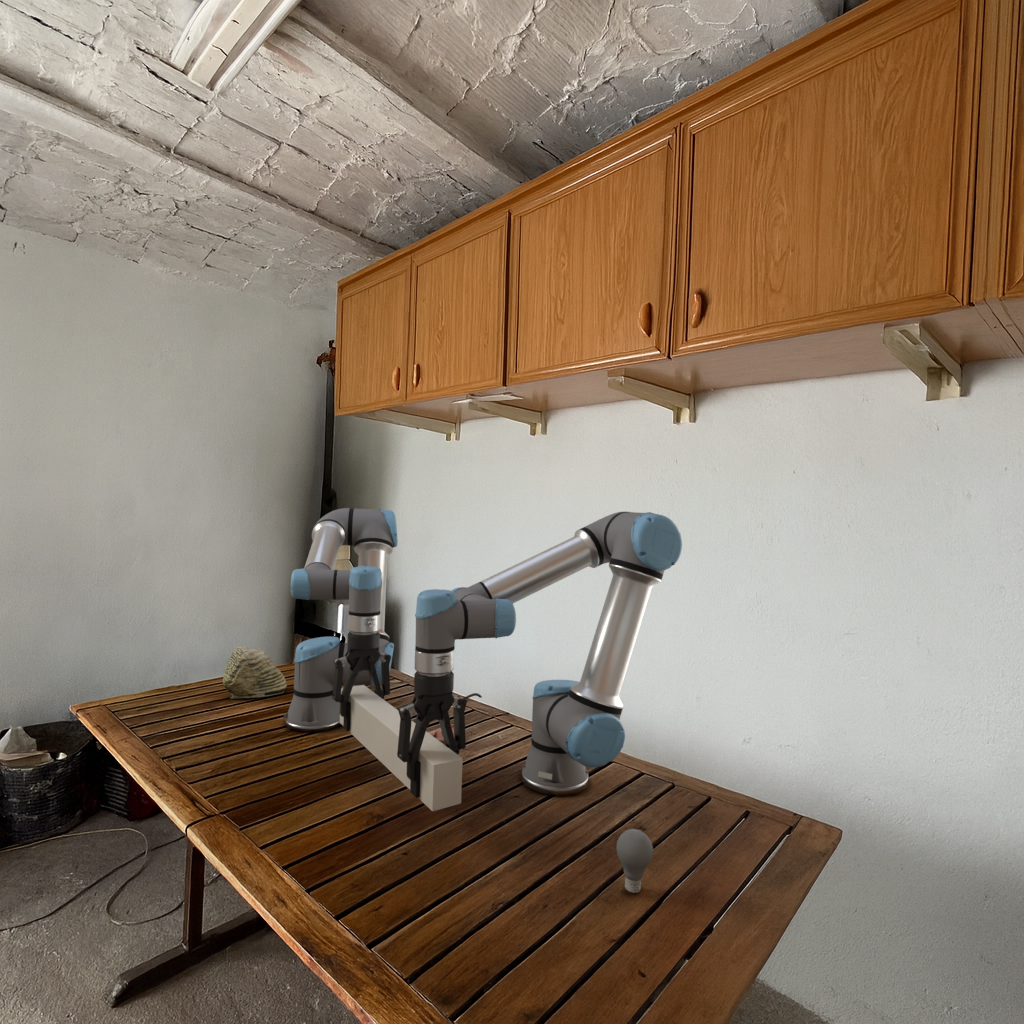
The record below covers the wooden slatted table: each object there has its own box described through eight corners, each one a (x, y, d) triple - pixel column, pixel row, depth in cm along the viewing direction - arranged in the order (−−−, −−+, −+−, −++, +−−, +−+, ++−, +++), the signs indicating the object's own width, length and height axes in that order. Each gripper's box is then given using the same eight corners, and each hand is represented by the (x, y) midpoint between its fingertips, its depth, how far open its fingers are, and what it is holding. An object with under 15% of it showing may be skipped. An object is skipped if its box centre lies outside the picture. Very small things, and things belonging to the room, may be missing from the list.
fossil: (218, 695, 195) (220, 647, 195) (278, 685, 208) (279, 640, 207) (228, 703, 189) (230, 653, 188) (289, 692, 201) (290, 645, 201)
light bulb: (610, 879, 108) (613, 822, 108) (644, 879, 109) (647, 822, 109) (619, 902, 102) (622, 840, 102) (655, 901, 103) (658, 840, 103)
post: (339, 722, 156) (340, 688, 156) (362, 718, 160) (363, 684, 159) (432, 811, 115) (433, 765, 114) (461, 803, 118) (462, 758, 118)
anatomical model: (402, 732, 161) (417, 717, 172) (401, 747, 161) (417, 732, 172) (452, 738, 158) (464, 723, 170) (451, 754, 158) (464, 737, 170)
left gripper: (328, 638, 144) (324, 738, 144) (407, 631, 154) (403, 725, 154) (319, 631, 150) (316, 727, 151) (395, 625, 160) (392, 715, 161)
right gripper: (395, 683, 113) (392, 811, 113) (486, 669, 123) (483, 786, 124) (379, 672, 119) (376, 794, 120) (467, 660, 130) (464, 772, 130)
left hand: (360, 726), depth 153 cm, fingers closed on post, 6 cm apart
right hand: (431, 790), depth 122 cm, fingers closed on post, 6 cm apart
